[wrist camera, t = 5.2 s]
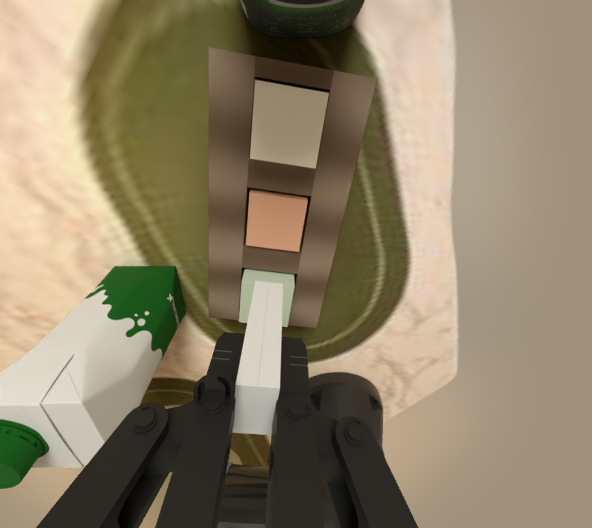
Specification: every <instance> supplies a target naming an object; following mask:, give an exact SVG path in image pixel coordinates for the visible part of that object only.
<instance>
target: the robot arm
mask: <svg viewBox="0 0 592 528" xmlns="http://www.w3.org/2000/svg"><path fill="white" fill-rule="evenodd" d="M282 303H283V284H281V283H272V282H263V281H255V286H254V291H253V296H252V301H251V307H250V312H249V317H248V322H247V328H246V333H245V334H238V333H228V332H224V333H223V334H222V335H221V336H220V337H219V339H218V340H217V342H216V346H215V349H214V352H213V355H212V359H211V362H210V365H209V369H208V372H207V375H206V376H203V377H202V378H201V379H200V380H198V381H197V383H196V385H195V386H194V400H193V401H191V402H189V403H187V404H185V405H182V406H179V407H174V408H170V409H165V407H164V406H162V405H160V404H159V403H147V404H142V405H140V406H138V407H136V408H135V409H133V410H132V411H131V412H130V413H129V414H128V415H127V416H126V417H125V418H124V419H123V421H122V422H121V423H120V424H119V426H118V427H117V428H116V429H115V430H114V432H113V433H112V434H111V435H110V437H109V438H108V439H107V440H106V442H105V443H104V444H103V445H102V447H101V448H100V449H99V450H98V452H97V453H96V454H95V455H94V457H93V458H92V459H91V460H90V462H89V463H88V464H87V465H86V467H85V468H84V469H83V470H82V472H81V473H80V474H79V475H78V477H77V478H76V479H75V480H74V481H73V483H72V484H71V485H70V486H69V488H68V489H67V490H66V491H65V493H64V494H63V495H62V496H61V498H60V499H59V500H58V501H57V502H56V504H55V505H54V506H53V507H52V509H51V510H50V511H49V513H48V514H47V515H46V516H45V518H44V519H43V520H42V521H41V522H40V524H39V525H38V526H37V527H36V528H139V526H140V524H141V523H142V521H143V519H144V517H145V515H146V514H147V512H148V510H149V508H150V506H151V505H152V503H153V501H154V499H155V497H156V496H157V494H158V492H159V490H160V488H161V486H162V485H163V483H164V481H165V479H166V478H167V476H168V474H169V473H170V472H173V473H172V476H171V479H170V482H169V485H168V489H167V492H166V495H165V498H164V501H163V505H162V508H161V511H160V514H159V517H158V521H157V524H156V527H155V528H418V526H417V524H416V522H415V520H414V518H413V516H412V514H411V512H410V509H409V508H408V505H407V503H406V501H405V499H404V497H403V495H402V493H401V491H400V489H399V487H398V485H397V483H396V480H395V478H394V476H393V474H392V472H391V470H390V468H389V466H388V464H387V462H386V460H385V457H384V453H383V449H382V434H383V406H382V402H381V399H380V395H379V392H378V390H377V388H376V387H375V386H374V385H373V384H372V383H371V382H370V381H368V380H367V379H365V378H363V377H361V376H358V375H354V374H349V373H326V374H321V375H317V376H314V377H312V378H309V376H308V367H307V366H308V363H307V350H306V346H305V344H304V343H303V341H302V339H298V338H287V337H281V336H282ZM232 433H247V434H263V435H271V434H272V436H271V447H270V452H269V457H268V463H269V466H253V465H237V464H233V463H228V460H229V454H230V446H231V438H232Z"/></svg>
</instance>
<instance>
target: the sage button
mask: <svg viewBox="0 0 592 528" xmlns="http://www.w3.org/2000/svg"><path fill="white" fill-rule="evenodd" d="M255 281H263V282H272V283H281V284H283V303H282V327H288V321H289V316H290V310H291V305H292V299H293V293H294V288H295V285H294V273H285V272H276V271H268V270H259V269H251V268H245V270H244V274H243V278H242V283H241V298H240V313H239V322H242V323H247V322H248V317H249V312H250V307H251V301H252V296H253V291H254V286H255Z"/></svg>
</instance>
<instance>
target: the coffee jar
mask: <svg viewBox="0 0 592 528" xmlns="http://www.w3.org/2000/svg"><path fill="white" fill-rule="evenodd" d="M364 1H365V0H240V2H241V5H242V7H243V10H244V12H245V14H246V16H247V18H248V20H249V21H250V23H251V24H252V25H253V26H254V27H255V28H256V29H257V30H259V31H260V32H262V33H264V34H266V35H269V36H275V37H284V38H311V37H319V36H325V35H329V34H334V33H337V32H340V31H342V30H343V29H345V28H346V27H347V26H349V25H350V24H351V23H352V22H353V20H354V19H355V18H356V16H357V15H358V13H359V11H360V9H361V7H362V5H363V3H364Z"/></svg>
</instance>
